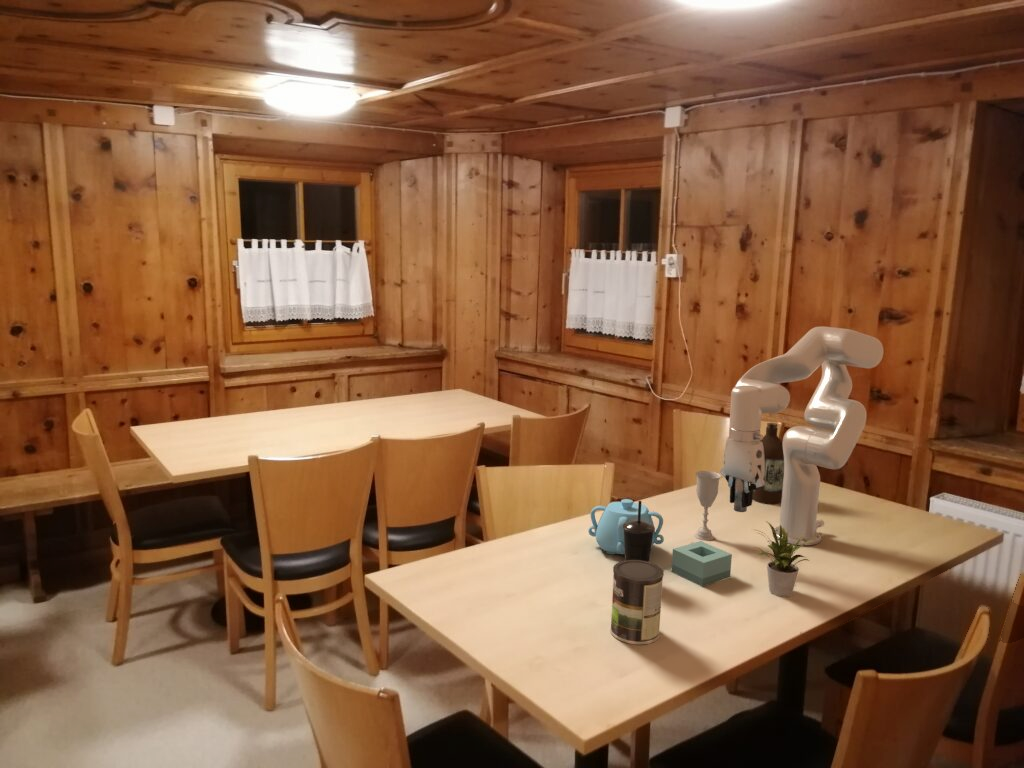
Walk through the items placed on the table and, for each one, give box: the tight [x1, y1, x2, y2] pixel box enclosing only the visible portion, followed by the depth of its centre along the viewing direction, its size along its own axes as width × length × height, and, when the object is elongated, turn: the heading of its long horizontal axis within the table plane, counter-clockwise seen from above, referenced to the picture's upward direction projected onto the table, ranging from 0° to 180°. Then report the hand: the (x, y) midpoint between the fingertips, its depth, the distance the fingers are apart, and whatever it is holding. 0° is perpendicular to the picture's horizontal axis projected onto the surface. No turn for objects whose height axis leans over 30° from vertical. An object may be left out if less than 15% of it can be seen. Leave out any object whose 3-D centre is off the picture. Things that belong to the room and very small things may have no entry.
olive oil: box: [752, 422, 784, 505], centre depth 249 cm, size 11×11×25 cm
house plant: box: [751, 520, 815, 597], centre depth 184 cm, size 14×14×16 cm
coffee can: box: [610, 559, 665, 646], centre depth 163 cm, size 10×10×14 cm
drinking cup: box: [623, 500, 656, 562], centre depth 188 cm, size 8×8×20 cm
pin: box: [733, 478, 748, 513], centre depth 201 cm, size 3×3×10 cm
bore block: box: [671, 540, 733, 587], centre depth 193 cm, size 10×10×6 cm
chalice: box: [694, 470, 722, 541], centre depth 217 cm, size 7×7×18 cm
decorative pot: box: [588, 498, 665, 556], centre depth 207 cm, size 16×16×14 cm
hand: (740, 503), depth 201 cm, fingers closed on pin, 3 cm apart
